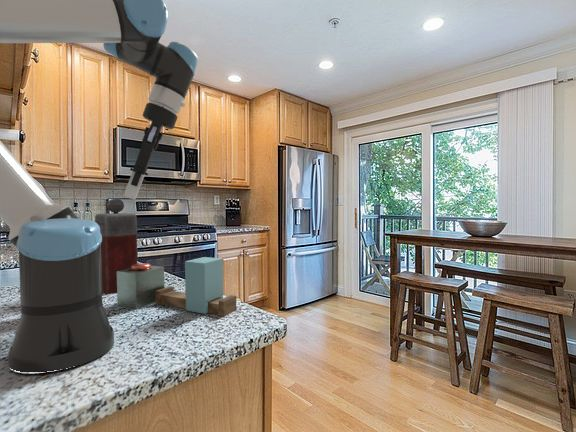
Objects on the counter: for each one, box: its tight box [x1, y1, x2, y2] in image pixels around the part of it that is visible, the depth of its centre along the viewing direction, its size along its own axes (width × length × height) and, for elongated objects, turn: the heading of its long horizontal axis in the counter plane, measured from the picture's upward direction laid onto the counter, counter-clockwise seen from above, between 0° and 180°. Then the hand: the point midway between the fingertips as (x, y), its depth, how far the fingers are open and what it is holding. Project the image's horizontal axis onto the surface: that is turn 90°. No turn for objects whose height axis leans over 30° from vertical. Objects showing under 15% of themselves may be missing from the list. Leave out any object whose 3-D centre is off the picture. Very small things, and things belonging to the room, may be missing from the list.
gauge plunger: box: [131, 262, 151, 271], centre depth 84 cm, size 5×5×6 cm
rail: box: [154, 286, 237, 317], centre depth 80 cm, size 22×5×4 cm, turn 65°
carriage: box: [184, 256, 224, 315], centre depth 79 cm, size 6×7×12 cm
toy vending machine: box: [94, 198, 138, 295], centre depth 98 cm, size 9×11×28 cm
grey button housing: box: [116, 264, 165, 310], centre depth 84 cm, size 7×9×9 cm
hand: (129, 197), depth 78 cm, fingers closed
